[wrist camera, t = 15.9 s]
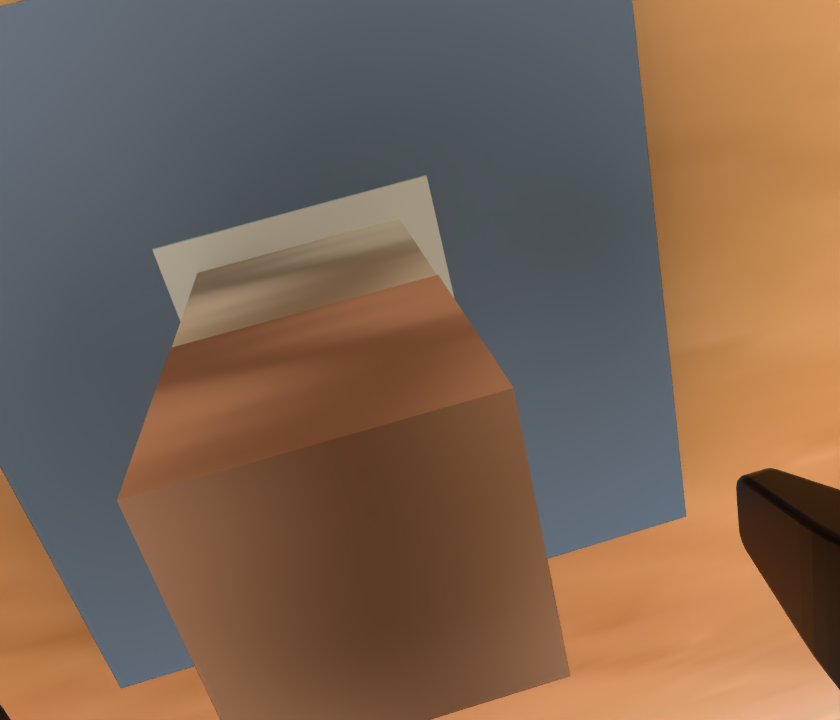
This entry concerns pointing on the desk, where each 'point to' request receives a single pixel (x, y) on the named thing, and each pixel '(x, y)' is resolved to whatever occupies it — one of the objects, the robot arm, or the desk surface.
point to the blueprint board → (321, 237)
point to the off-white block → (301, 279)
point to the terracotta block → (346, 515)
